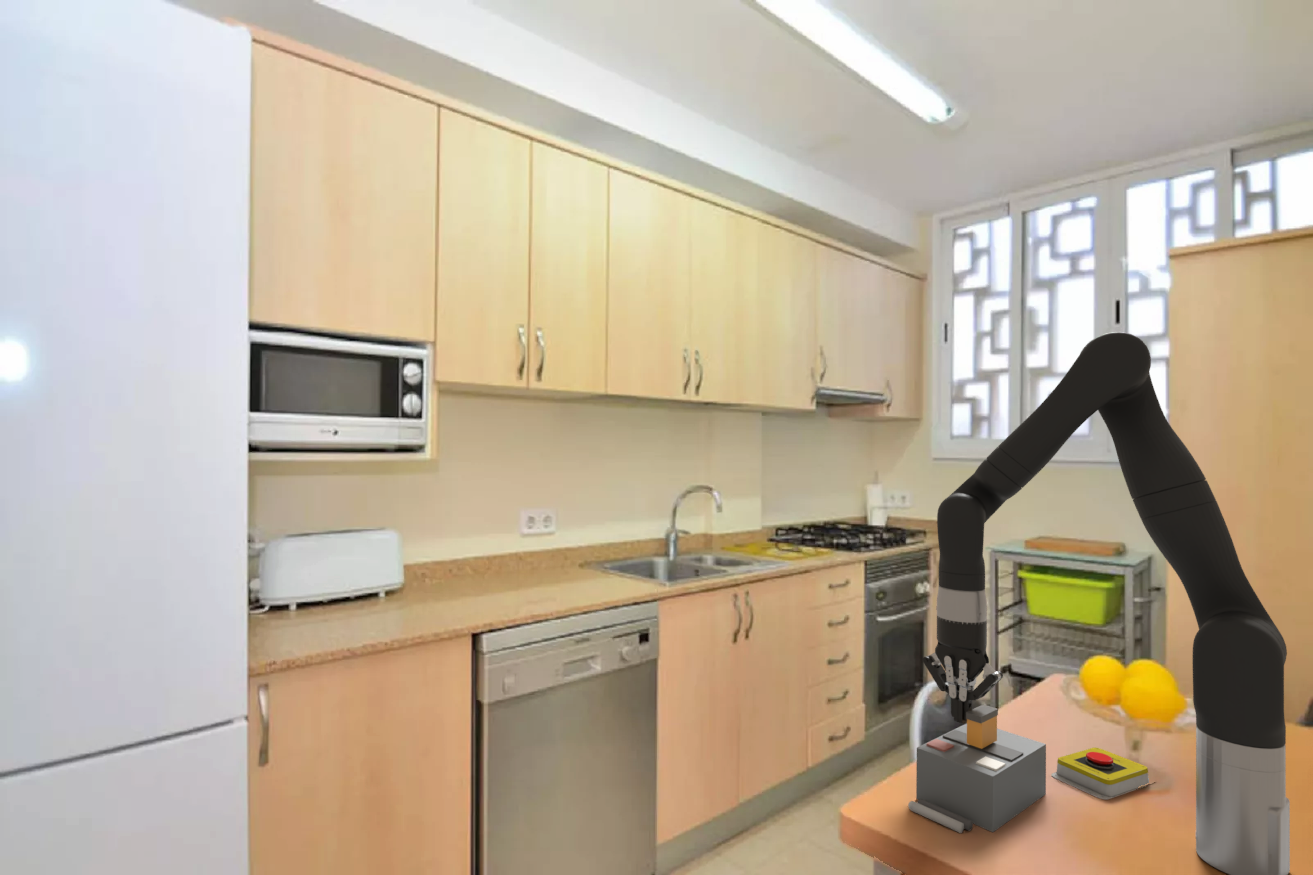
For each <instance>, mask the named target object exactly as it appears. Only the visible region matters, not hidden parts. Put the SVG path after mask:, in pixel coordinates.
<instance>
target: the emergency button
mask: <svg viewBox="0 0 1313 875" xmlns="http://www.w3.org/2000/svg"><path fill="white" fill-rule="evenodd" d="M1056 762H1057V763H1056V771H1055V772H1052V773H1051V774H1050V775H1051V777H1052V778H1054V779H1056V780H1058V781H1060V782H1063V783H1064V784H1067V785H1069V786H1071V787H1073V788H1075V789H1078V790H1080V791H1082V792H1084V793H1086V794H1088V795H1091V796H1093V797H1094V798H1097V799H1099V800H1105V801H1106V800H1110V799H1113V798H1114V799H1115V798H1117V797H1119V796H1122V795H1125V794H1127V793H1130V792H1134V791H1137V790H1139V789H1138V787H1139V786H1141V785H1145V784H1147V783H1149V778H1148V777H1149V769H1148V767H1147V766H1146V765H1143V764H1141V763H1139V762H1136V761H1134V760H1131V759H1129V758H1126V757H1123V756H1120V755H1119V754H1116V753H1113V752H1111V751H1108V750H1105V749H1103V748H1100V747H1090V748H1088V749H1083V750H1080V751H1077V752H1073V753H1069V754H1065V755H1062V756H1059V757H1057V761H1056ZM1136 789H1137V790H1136Z"/></svg>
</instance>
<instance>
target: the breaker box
mask: <svg viewBox="0 0 1313 875" xmlns="http://www.w3.org/2000/svg"><path fill="white" fill-rule="evenodd" d="M1046 779H1047V744H1046V743H1044V742H1041V741H1037V740H1034V739H1032V738H1028V737H1025V736H1022V735H1019V734H1015V733H1013V732H1009V731H1007V730H1003V729H1000V728H997V741H995V742H993V743H992V744H990V745H988V746H986V747H984V748H983V749H981V748H978V747H975V746H972V745H969V744H967V722H966V723H964V724H962V725H960V726H958V727H957V728H954V729H952V730H950V731H948V732H946V733H943V734H942V735H940V736H938V737H936V738H934V739H932V740H929V741H928V742H925V743H923V744H921V745H918V746H917V747H916V779H915V780H916V783H915V784H916V786H915V787H916V796H915V798H916V799H917V801H918V800H919V799H923V800H925V801H927V802H930V803H932V804H934V805H937V806H939V807H941V808H943V809H946V810H948V811H950V812H953V813H955V814H957V815H959V816H962V817H964V818H966V819H969V820H971V821H972V822H973V825H975V826H977V827H980V828H982V829H984V830H986V831H989V832H991V833H994V832H996V831H997V830H998V829H1000V828H1001V827H1002V826H1004V825H1005V824H1006V823H1008V822H1009V821H1011V820H1012V819H1014V818H1015V817H1017V816H1018V815H1019V814H1021V813H1022V812H1023V811H1024V810H1026V809H1027V808H1029V807H1030V806H1032V804H1034V803H1036V802H1037V801H1039V800H1040V799H1041V798H1042V797H1044V796H1046V795H1047V794H1046V793H1047V780H1046Z"/></svg>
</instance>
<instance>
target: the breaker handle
mask: <svg viewBox="0 0 1313 875" xmlns="http://www.w3.org/2000/svg"><path fill="white" fill-rule="evenodd" d="M998 716H999V708H996V707H994V706H993V707H992V706H989V705H986V704H981V705H978V706H977V707H974V708H972V710H970V711H968V712H966V719H967V722H966V723H967V744H969V745H972V746H975V747H978V748H981V749H983V748H984V747H986V746H988V745H990V744H992V743H993V742H995V741H997V729H998Z"/></svg>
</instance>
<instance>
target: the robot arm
mask: <svg viewBox="0 0 1313 875" xmlns="http://www.w3.org/2000/svg"><path fill="white" fill-rule="evenodd" d="M1149 350H1150V349H1149V348H1148V346H1147V345H1146V343H1145V342H1144V340H1142V339H1141V338H1140V337H1138V336H1137V335H1134V334H1132V333H1128V332H1123V331H1113V332H1107V333H1103V334H1101V335H1100V334H1099V336H1096V337H1095V338H1093V339H1091V340H1090V341H1088V343H1087V344H1085V346H1084V347H1083V348H1082V350H1081V351H1080V353H1079V355H1078V357H1077V358H1076V360H1075V361H1074V362H1073V363H1072V365H1071V366H1070V368H1069V369H1068V371H1067V372H1066V374H1065V375H1064V376H1063V378H1062V379H1061V380H1060V382H1058V384H1057V386H1055V388H1054V389H1053V390H1052V392H1050V394H1048V396H1047V397H1046V398H1045V399H1044V400H1043V401H1042V402H1041V404H1040V405H1039V406H1038V407H1037V408H1036V409H1035V410H1034V411H1033V412H1032V413H1031V414H1029V416H1028V417H1027V418H1026V419H1025V420H1024V421H1022V423H1021V424H1020V425H1018V426H1017V427H1016V428H1015V429H1014V430H1013V431H1012V432H1010V434H1009V435H1008V436H1007V437H1006V438H1005V439H1004V440H1003V441H1002V442H1000V444H999V445H998V446H996V448H994V449H993V451H991V453H990V454H989V455H988V456H986V457H985V459H984V460H983V461H982V462H981V463H980V464H979V466H978V467H977V468H976V469H975V472H974V473H973V474H972V475H970V476H969V477H968V478H967V479H966V480H965V481H963V483H961V484H960V485H959V486H958V487H957V488H956V489H954V491H953V492H952V493H951V494H949V496H947V497H946V498H945V499H943V500H942V502H940V505H939V506H938V509H937V516H936V520H937V521H936V526H937V541H938V548H939V549H938V550H939V558H938V589H937V597H936V609H935V610H936V641H937V644H936V646H935V649H934V652H933V653H931V654H929V655H925V656H923V658H922V662H923V664H924V665H925V667H926V669H927V671H928V672H929V674H930V675H931V677H932V679H933V681H934V682H935V684H936V686H937V687H938V689H939V690H940V691H941V692H945V693H947V694H948V695H949V697H950V714H951V718H953V721H954V722H957V723H960V724H962V725H964V724H966V723H967V719H966V712H968V711H970V710H972V709H973V701H977V700H980V699H982V698H984V697H985V696H986V695H987V694H988V693H989V692H990V691H991V690H992V689H993V688H994V687H995V686H996V685H997V684H998V683H999V682H1000V681H1001V680H1002V679H1003V678H1004V674H1003V672H1002V671H1000V670H995V668H994V667H993V666H992V665H991V664H990V658H989V655H988V654H987V645H988V631H987V630H988V627H987V626H988V624H987V623H988V612H987V611H988V604H987V595H986V565H985V559H984V556H983V554H984V539H985V535H984V534H985V524H986V522H987V521H988V520H989V519H990V518H991V517H992V516H993V515H994V514H995V513H996V512H997V511H998V510H999V508H1001V507H1002V506H1003V504H1004V503H1005V502H1006V501H1008V500H1009V499H1011V498H1012V497H1014V496H1015V495H1017V494H1018V493H1020V491H1021V490H1022V489H1023V488H1024V487H1025V486H1027V484H1028V483H1029V482H1031V481H1032V480H1033V478H1035V477H1036V476H1037V475H1038V473H1039V472H1041V471H1042V469H1043V468H1044V467H1046V466H1047V465H1048V463H1049V462H1050V461H1051V460H1052V459H1053V458H1054V457H1055V456H1056V454H1057V453H1058V452H1059V451H1060V449H1061V448H1062V447H1063V445H1064V444H1065V443H1066V442H1067V441H1068V440H1069V439H1070V438H1071V437H1072V435H1073V434H1075V432H1076V431H1077V430H1078V429H1079V428H1080V426H1082V425H1083V424H1084V423H1085V422H1086V421H1087V420H1088V419H1089V418H1090V417H1092V415H1094V414H1095V413H1096V412H1097V411H1098V413H1099V414H1100V417H1101V418H1102V420H1103V422H1104V423H1105V425H1106V427H1107V430H1108V432H1109V434H1110V436H1111V439H1112V442H1113V444H1114V448H1115V451H1116V455H1117V459H1118V463H1119V466H1120V468H1121V469H1120V470H1121V471H1122V472H1121V473H1122V475H1123V478H1124V481H1125V483H1126V486H1127V489H1128V492H1129V495H1130V497H1131V499H1132V502H1133V504H1134V507H1135V508H1136V511H1137V513H1138V515H1139V519H1140V520H1141V522H1142V525H1143V526H1144V528H1145V530H1146V532H1147V534H1148V535H1149V537H1150V538H1151V540H1152V542H1153V543H1154V544H1155V546H1156V547H1157V549H1158V550H1159V552H1160V553H1161V554H1162V555H1163V557H1164V558H1165V560H1166V561H1167V562H1168V564H1169V565H1170V566H1171V568H1172V569H1173V570H1174V572H1175V574H1177V576H1178V578H1179V580H1180V581H1181V584H1182V585H1183V588H1184V590H1185V592H1186V594H1187V596H1188V600H1189V602H1190V604H1191V608H1192V611H1193V614H1194V617H1195V620H1196V622H1197V626H1198V630H1197V632H1196V634H1195V636H1194V638H1193V644H1192V701H1193V702H1192V703H1193V709H1194V710H1195V725H1196V726H1195V739H1196V740H1195V851H1196V853H1197V855H1198V856H1199V857H1200V858H1201V859H1202V860H1203V861H1204V862H1205V863H1207V865H1210V866H1211V867H1212V868H1213V867H1214V868H1215V869H1217V870H1219V871H1221V872H1223V873H1225V874H1228V875H1289V874H1290V871H1291V870H1290V868H1291V867H1290V866H1291V864H1290V862H1291V861H1290V860H1291V856H1290V855H1291V853H1290V852H1291V850H1290V848H1291V847H1290V845H1291V842H1290V839H1291V838H1290V836H1291V835H1290V834H1291V832H1290V830H1291V829H1290V826H1291V825H1290V823H1291V822H1290V821H1291V820H1290V819H1291V818H1290V815H1291V814H1290V812H1291V811H1290V810H1291V809H1290V805H1291V804H1290V803H1291V802H1290V799H1289V798H1288V797H1287V796H1286V795H1287V794H1286V792H1287V791H1286V790H1287V788H1286V783H1287V781H1286V780H1287V779H1286V770H1287V768H1286V765H1287V764H1286V759H1287V758H1286V753H1287V752H1286V744H1287V743H1286V742H1287V739H1286V736H1287V735H1286V733H1287V732H1286V731H1287V730H1286V727H1287V726H1286V721H1285V664H1286V660H1287V655H1288V652H1287V651H1288V650H1287V644H1286V642H1285V639H1284V637H1283V635H1282V633H1281V631H1280V630H1279V628H1278V627H1277V625H1276V624H1275V622H1274V621H1273V619H1272V618H1271V616H1270V614H1269V613H1268V611H1267V610H1266V608H1265V607H1264V605H1263V603H1262V602H1261V600H1260V598H1259V597H1258V595H1257V594H1256V593H1257V592H1255V590H1254V587H1253V586H1252V585H1251V583H1250V581H1249V579H1248V577H1247V576H1246V574H1245V572H1244V569H1243V568H1242V565H1241V562H1240V560H1239V556H1238V553H1237V550H1236V547H1235V545H1234V541H1233V539H1232V537H1231V536H1232V535H1231V534H1230V530H1229V528H1228V526H1227V523H1226V521H1225V518H1224V516H1223V513H1222V511H1221V508H1220V506H1219V504H1218V501H1217V499H1216V497H1215V495H1214V493H1213V490H1212V488H1211V486H1210V485H1209V483H1208V480H1207V478H1206V476H1205V474H1204V473H1203V471H1202V469H1201V467H1200V466H1199V464H1198V462H1197V461H1196V459H1195V457H1194V456H1193V455H1192V453H1191V452H1190V450H1189V449H1188V448H1187V446H1186V445H1185V443H1184V442H1183V440H1182V439H1181V438H1180V437H1179V435H1178V434H1177V433H1176V431H1175V430H1174V429H1173V427H1172V426H1171V424H1170V423H1169V421H1168V420H1167V417H1166V416H1165V413H1164V411H1163V409H1162V406H1161V405H1160V402H1159V398H1158V396H1157V394H1156V390H1155V388H1154V385H1153V382H1152V378H1151V374H1150V370H1151V366H1152V358H1151V353H1150V351H1149ZM982 672H983V673H982ZM980 674H982V679H983V680H982V681H981V682H980V683H979V684H978V686H976V687H975V685H976V684H977V678H978V677H979V675H980Z"/></svg>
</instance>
